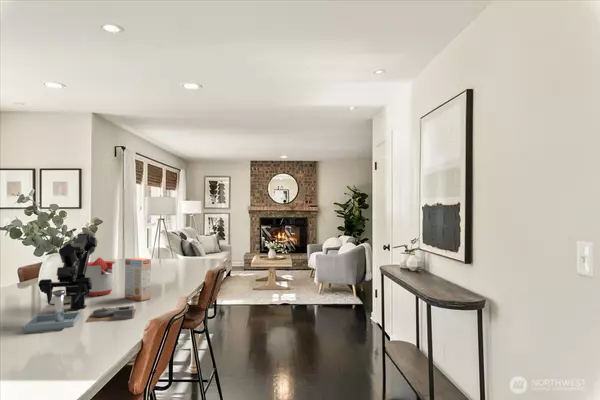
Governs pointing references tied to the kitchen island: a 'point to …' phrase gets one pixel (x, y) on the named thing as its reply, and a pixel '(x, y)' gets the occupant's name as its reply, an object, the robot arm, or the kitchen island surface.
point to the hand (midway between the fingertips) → (61, 302)
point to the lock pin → (59, 305)
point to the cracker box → (137, 278)
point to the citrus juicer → (101, 276)
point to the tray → (50, 323)
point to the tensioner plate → (112, 314)
